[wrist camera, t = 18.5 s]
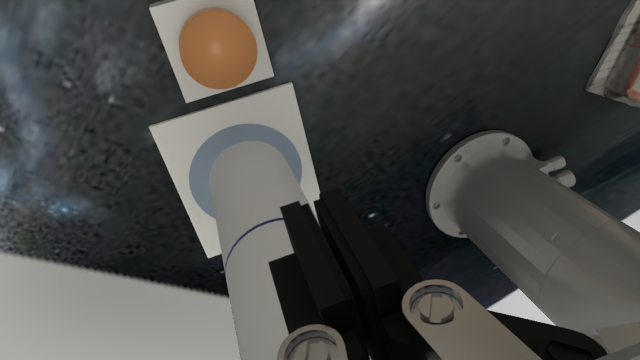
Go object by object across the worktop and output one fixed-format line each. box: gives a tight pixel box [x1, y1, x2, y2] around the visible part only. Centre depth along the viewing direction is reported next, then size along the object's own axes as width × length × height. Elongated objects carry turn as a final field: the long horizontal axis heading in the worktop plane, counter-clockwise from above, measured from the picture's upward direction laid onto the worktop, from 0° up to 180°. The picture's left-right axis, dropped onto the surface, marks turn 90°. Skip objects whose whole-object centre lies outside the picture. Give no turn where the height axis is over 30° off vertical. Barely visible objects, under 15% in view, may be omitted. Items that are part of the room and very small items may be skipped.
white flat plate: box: [149, 82, 320, 258], centre depth 41 cm, size 12×14×1 cm
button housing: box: [149, 0, 274, 103], centre depth 34 cm, size 7×7×2 cm
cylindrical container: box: [209, 141, 371, 360], centre depth 30 cm, size 7×7×25 cm
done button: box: [179, 8, 258, 89], centre depth 32 cm, size 5×5×2 cm
